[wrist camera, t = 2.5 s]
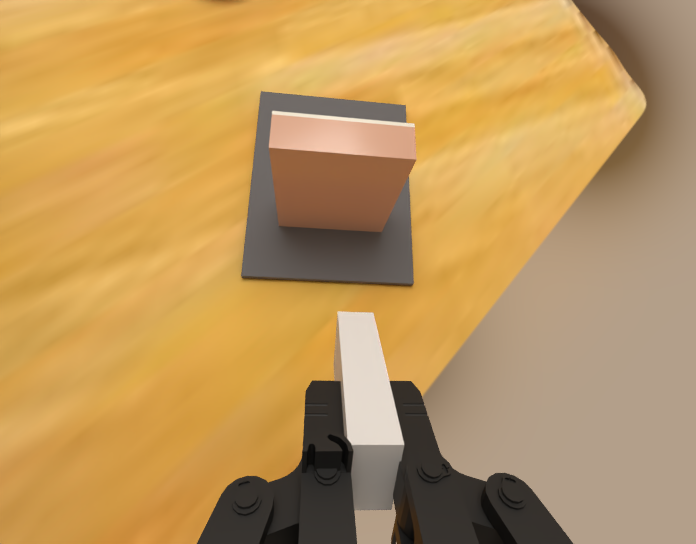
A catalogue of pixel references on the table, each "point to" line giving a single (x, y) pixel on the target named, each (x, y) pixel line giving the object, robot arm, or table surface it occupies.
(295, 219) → the tile
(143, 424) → the table surface
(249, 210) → the mat
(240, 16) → the table surface
